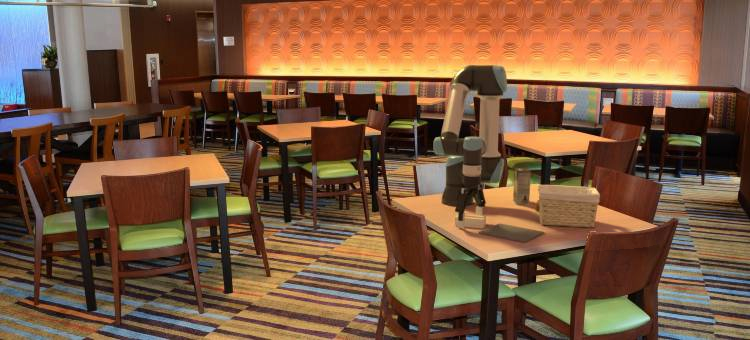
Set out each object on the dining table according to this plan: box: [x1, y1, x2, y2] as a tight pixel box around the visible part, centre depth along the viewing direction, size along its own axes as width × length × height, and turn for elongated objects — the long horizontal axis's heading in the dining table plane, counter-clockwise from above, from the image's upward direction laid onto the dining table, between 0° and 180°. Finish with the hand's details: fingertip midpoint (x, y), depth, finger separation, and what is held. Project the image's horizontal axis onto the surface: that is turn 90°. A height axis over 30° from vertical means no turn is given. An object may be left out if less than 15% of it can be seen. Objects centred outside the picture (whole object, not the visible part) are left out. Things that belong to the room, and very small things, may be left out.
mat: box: [478, 222, 545, 244], centre depth 260 cm, size 20×17×1 cm
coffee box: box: [512, 167, 532, 206], centre depth 311 cm, size 9×6×16 cm
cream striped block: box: [454, 213, 487, 229], centre depth 271 cm, size 12×6×4 cm, turn 71°
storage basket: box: [537, 184, 601, 229], centre depth 275 cm, size 24×16×15 cm
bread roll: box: [534, 199, 539, 212], centre depth 297 cm, size 10×10×8 cm
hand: (470, 225), depth 272 cm, fingers open, 13 cm apart
